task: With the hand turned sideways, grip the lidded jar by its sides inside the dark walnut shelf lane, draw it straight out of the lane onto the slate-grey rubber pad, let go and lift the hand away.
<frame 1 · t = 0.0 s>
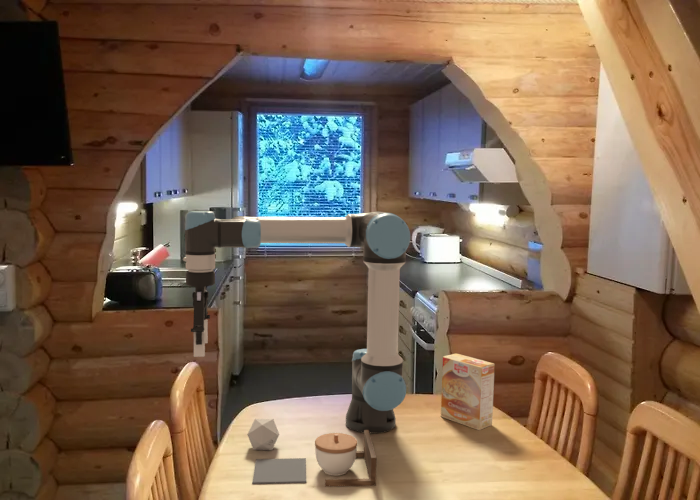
hand: (201, 349, 168), 28 cm above the table, tool pointing down, fingers open, 13 cm apart
coffeecake box: (465, 421, 197), on the table
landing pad: (280, 471, 160), on the table
lidded jar: (335, 471, 161), on the table
die: (263, 448, 174), on the table
shelf lane: (335, 470, 161), on the table
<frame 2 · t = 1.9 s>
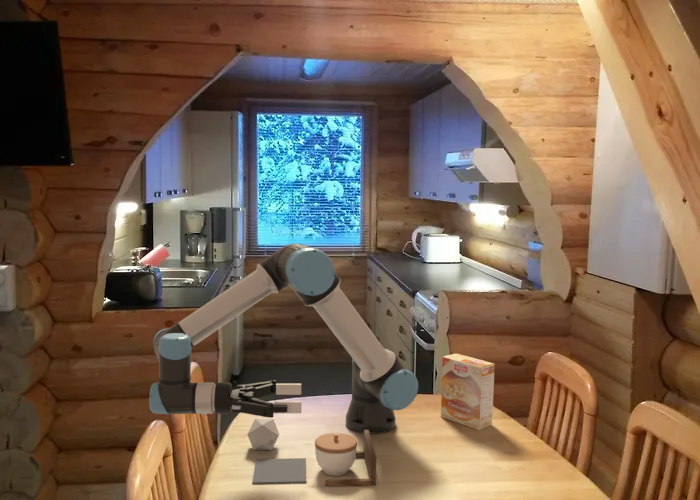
hand: (301, 397, 158), 19 cm above the table, tool horizontal, fingers open, 13 cm apart
nothing on the table moved.
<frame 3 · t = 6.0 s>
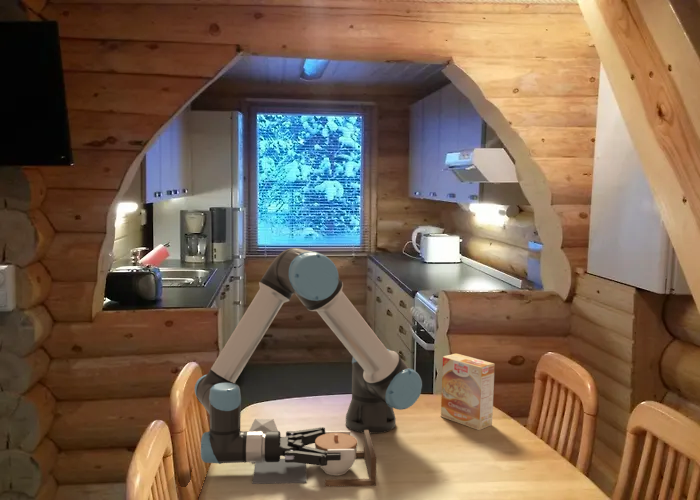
hand: (352, 445, 161), 7 cm above the table, tool horizontal, fingers closed on lidded jar, 11 cm apart
lidded jar: (335, 470, 161), on the table, touching gripper
everything else where it was.
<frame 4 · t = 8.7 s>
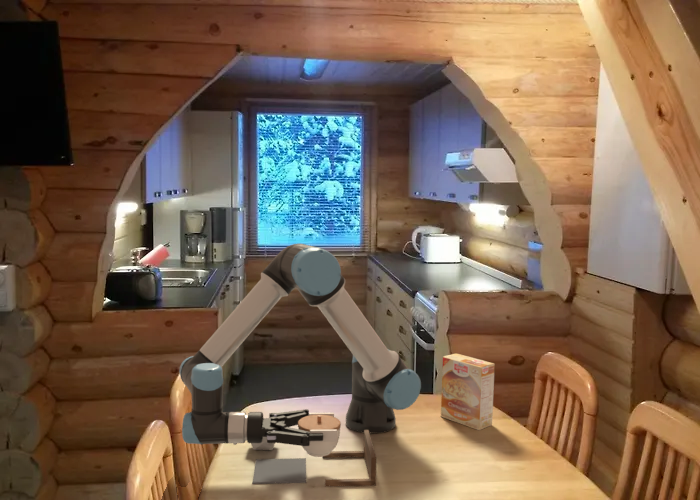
hand: (335, 426, 160), 12 cm above the table, tool horizontal, fingers closed on lidded jar, 11 cm apart
lidded jar: (318, 452, 160), point 5 cm above the table, touching gripper
everything else where it was.
when the fingers open (8 cm above the table, at t = 11.8 s): lidded jar stays where it is, resting on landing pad.
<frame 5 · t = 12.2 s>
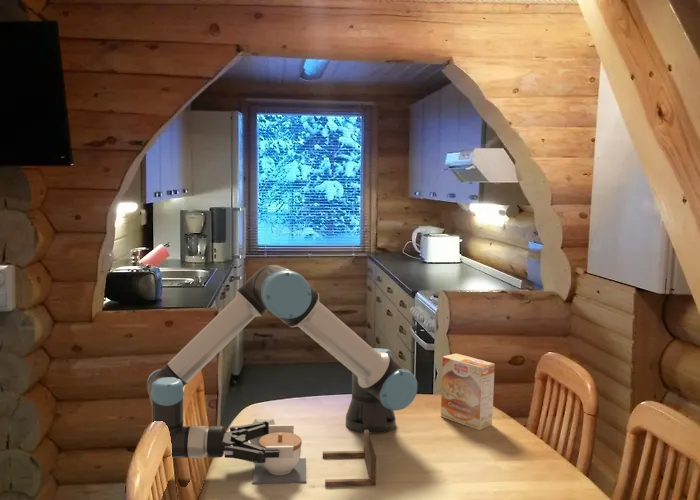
hand: (293, 440, 160), 8 cm above the table, tool horizontal, fingers open, 13 cm apart
lidded jar: (280, 470, 160), resting on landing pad
everything else where it was.
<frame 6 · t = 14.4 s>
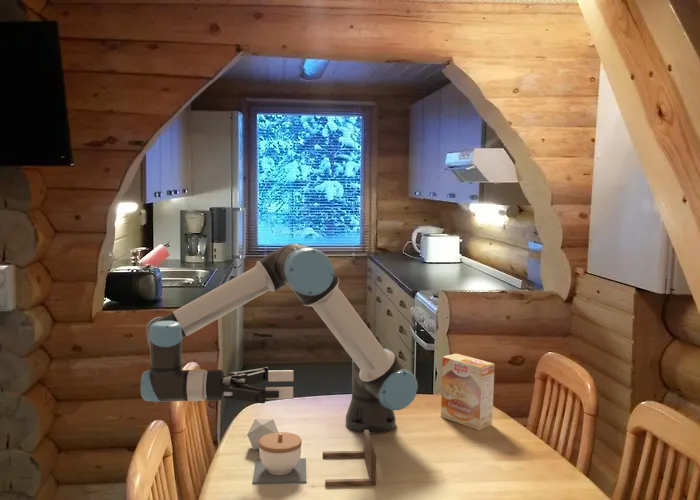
hand: (293, 383, 158), 23 cm above the table, tool horizontal, fingers open, 13 cm apart
nothing on the table moved.
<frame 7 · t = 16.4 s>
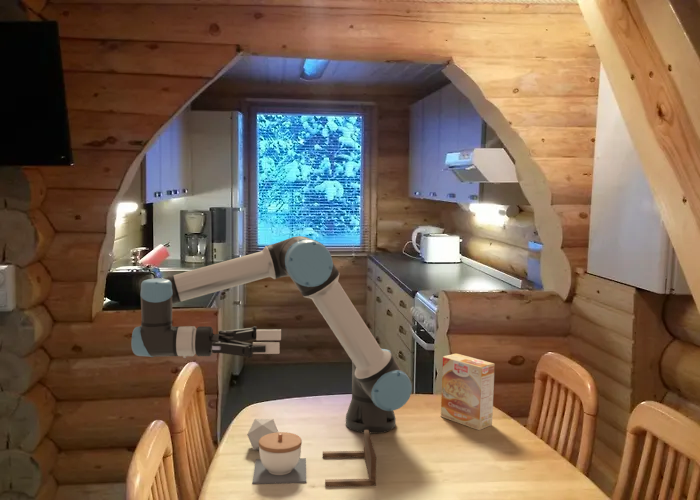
hand: (280, 341, 163), 32 cm above the table, tool horizontal, fingers open, 13 cm apart
nothing on the table moved.
at the end: lidded jar inside the target area (0.3 cm from its centre), resting on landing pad; lidded jar tilted 0°; the gripper is holding nothing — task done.
